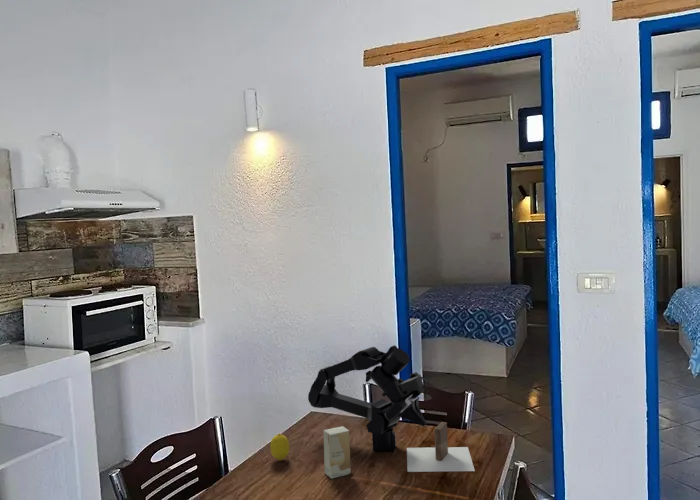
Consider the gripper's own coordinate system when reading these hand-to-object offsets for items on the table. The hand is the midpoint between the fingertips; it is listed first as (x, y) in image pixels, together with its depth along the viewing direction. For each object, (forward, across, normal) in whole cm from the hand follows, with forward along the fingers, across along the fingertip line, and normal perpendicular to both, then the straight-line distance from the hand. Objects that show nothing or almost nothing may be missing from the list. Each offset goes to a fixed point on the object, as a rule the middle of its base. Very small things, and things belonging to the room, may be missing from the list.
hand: (425, 424), depth 165 cm
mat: (+10, -2, +3) cm, 10 cm away
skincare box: (-6, -19, +20) cm, 28 cm away
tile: (+10, 0, +3) cm, 10 cm away
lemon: (-20, -18, +34) cm, 44 cm away
